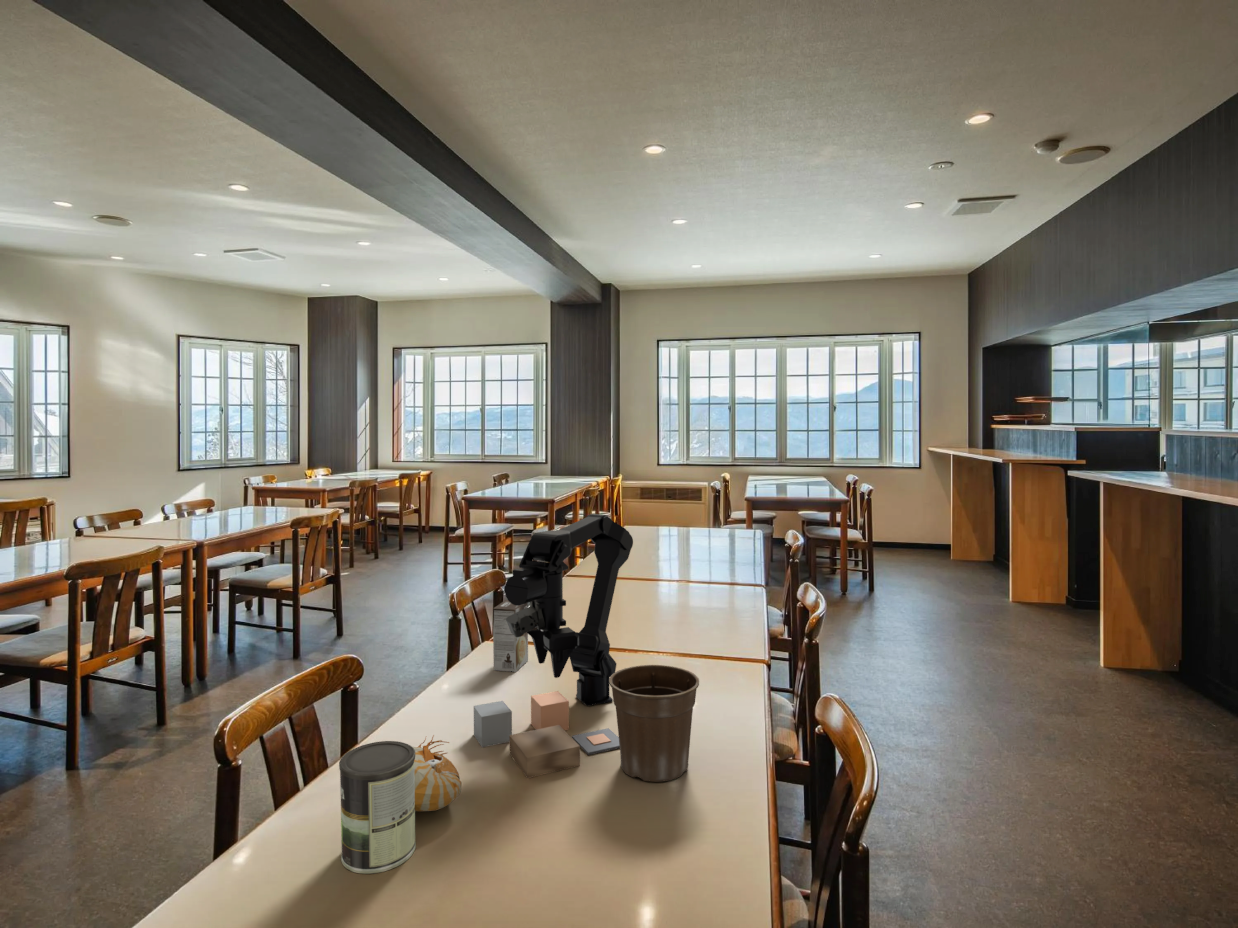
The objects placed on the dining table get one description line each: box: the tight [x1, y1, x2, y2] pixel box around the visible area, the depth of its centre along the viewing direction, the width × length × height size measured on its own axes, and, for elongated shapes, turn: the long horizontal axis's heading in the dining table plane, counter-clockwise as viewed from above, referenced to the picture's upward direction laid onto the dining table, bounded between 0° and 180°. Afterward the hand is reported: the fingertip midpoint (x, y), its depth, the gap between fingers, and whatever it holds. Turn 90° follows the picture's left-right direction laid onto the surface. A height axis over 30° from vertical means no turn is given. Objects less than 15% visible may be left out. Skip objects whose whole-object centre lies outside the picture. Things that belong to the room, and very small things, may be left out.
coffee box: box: [492, 599, 529, 673], centre depth 179 cm, size 9×6×16 cm
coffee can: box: [338, 740, 417, 875], centre depth 100 cm, size 10×10×14 cm
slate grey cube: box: [473, 700, 513, 748], centre depth 137 cm, size 6×6×6 cm
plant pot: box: [609, 664, 700, 783], centre depth 125 cm, size 16×16×16 cm
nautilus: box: [412, 734, 462, 812], centre depth 116 cm, size 8×22×15 cm
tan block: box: [509, 725, 581, 779], centre depth 128 cm, size 10×10×4 cm
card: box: [571, 727, 620, 756], centre depth 135 cm, size 8×8×1 cm
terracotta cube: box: [530, 690, 570, 731], centre depth 142 cm, size 6×6×6 cm
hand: (549, 669), depth 142 cm, fingers open, 9 cm apart
